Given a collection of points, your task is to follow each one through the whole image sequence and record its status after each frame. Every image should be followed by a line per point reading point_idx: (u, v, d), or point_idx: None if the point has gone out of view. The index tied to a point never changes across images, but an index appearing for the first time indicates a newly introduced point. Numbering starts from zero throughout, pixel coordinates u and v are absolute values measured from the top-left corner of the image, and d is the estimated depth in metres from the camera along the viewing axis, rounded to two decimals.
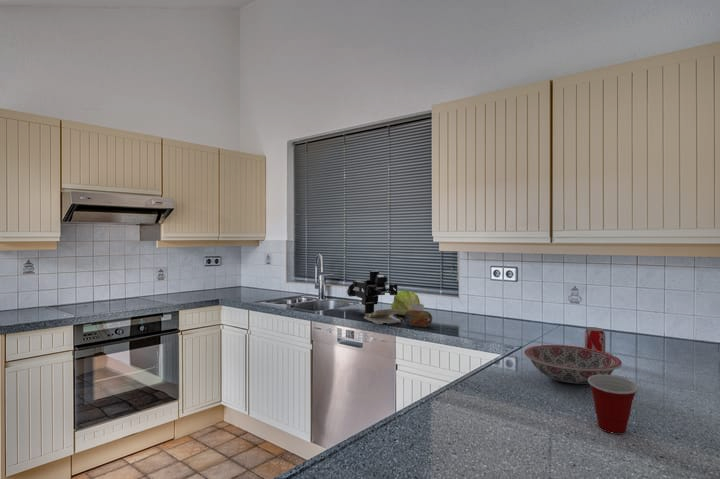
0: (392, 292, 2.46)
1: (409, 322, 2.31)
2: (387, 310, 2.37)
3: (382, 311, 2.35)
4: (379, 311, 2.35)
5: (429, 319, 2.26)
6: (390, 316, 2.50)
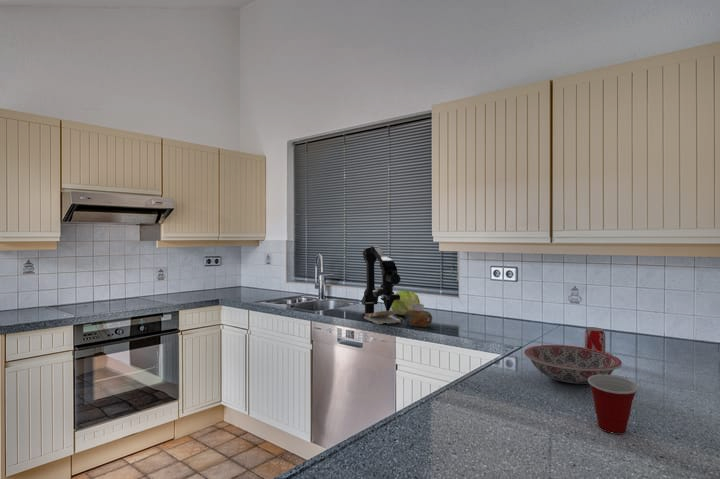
0: None
1: (409, 322, 2.31)
2: (387, 312, 2.36)
3: (382, 313, 2.35)
4: (379, 313, 2.34)
5: (429, 319, 2.26)
6: (390, 316, 2.50)
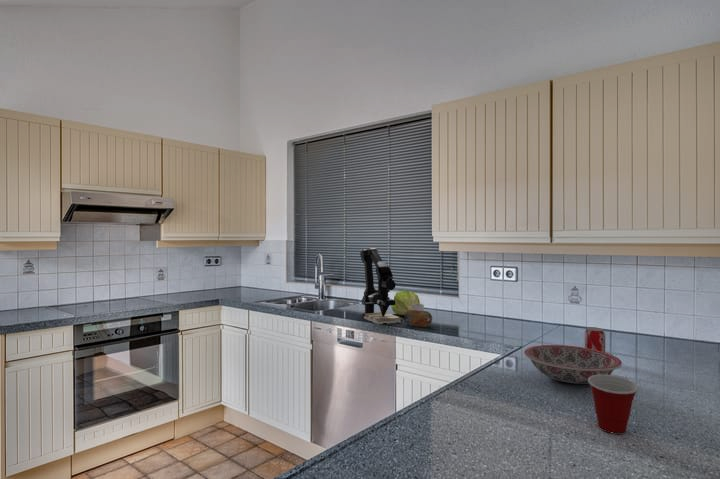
0: None
1: (409, 322, 2.31)
2: (388, 319, 2.36)
3: (382, 320, 2.35)
4: (379, 320, 2.34)
5: (429, 319, 2.26)
6: None
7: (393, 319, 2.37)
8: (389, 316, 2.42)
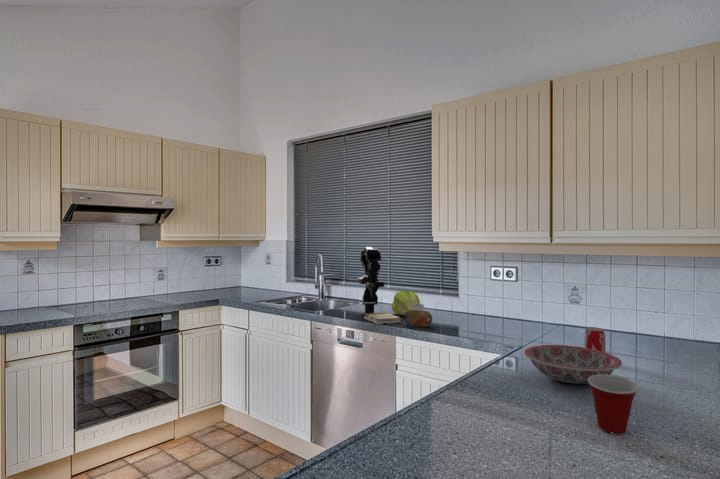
0: None
1: (409, 322, 2.31)
2: (388, 319, 2.36)
3: (382, 320, 2.35)
4: (379, 320, 2.34)
5: (429, 319, 2.26)
6: None
7: (393, 319, 2.37)
8: (389, 316, 2.42)
